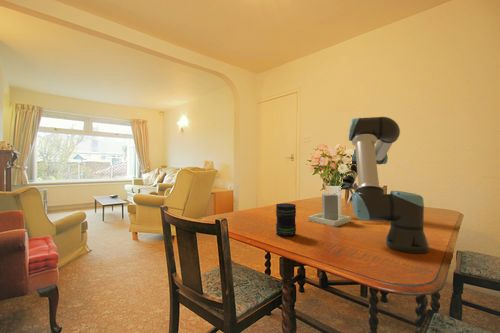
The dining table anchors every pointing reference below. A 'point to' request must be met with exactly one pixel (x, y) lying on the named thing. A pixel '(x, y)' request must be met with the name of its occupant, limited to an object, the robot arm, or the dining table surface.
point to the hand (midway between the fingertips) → (337, 202)
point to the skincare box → (330, 206)
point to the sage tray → (335, 223)
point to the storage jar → (286, 220)
